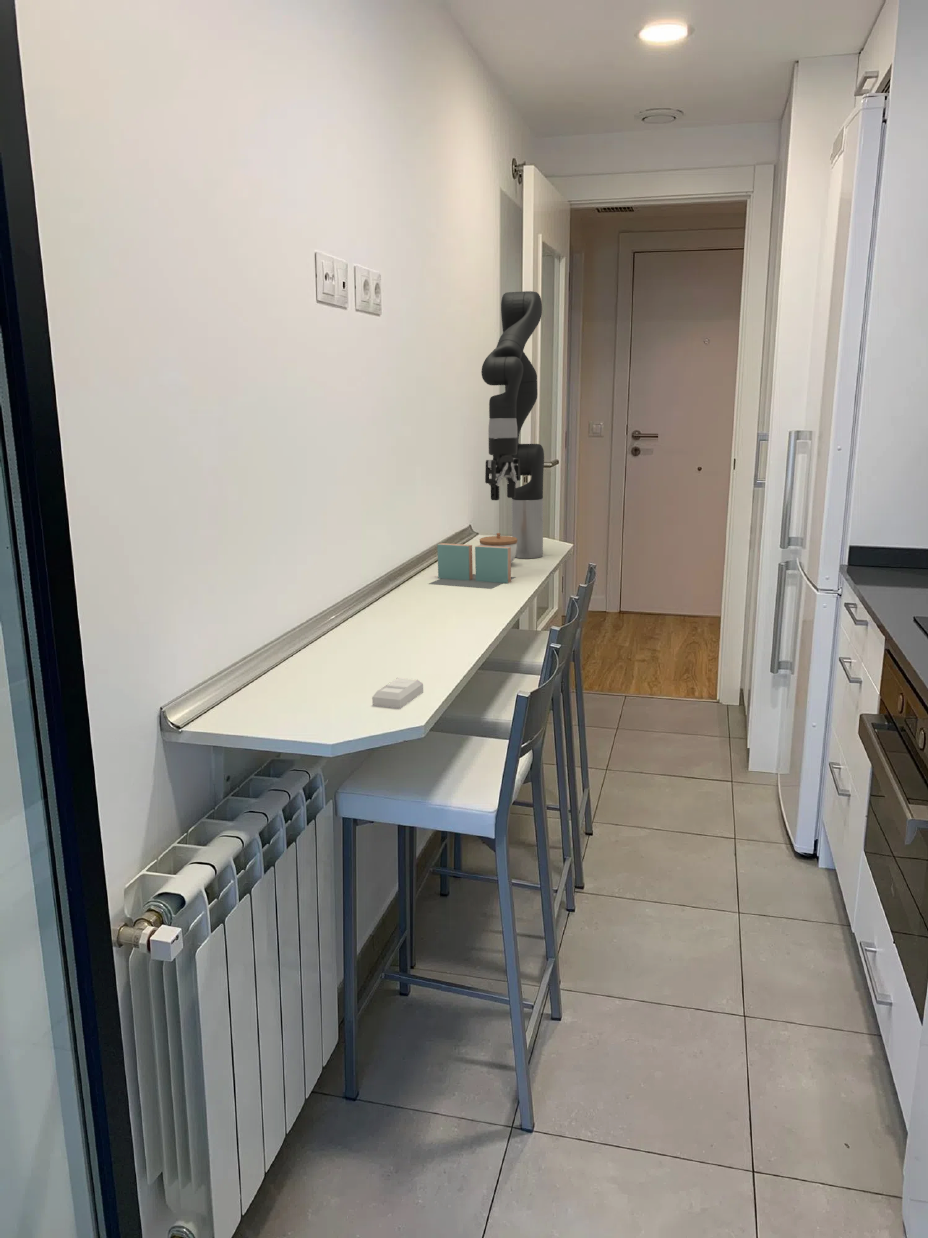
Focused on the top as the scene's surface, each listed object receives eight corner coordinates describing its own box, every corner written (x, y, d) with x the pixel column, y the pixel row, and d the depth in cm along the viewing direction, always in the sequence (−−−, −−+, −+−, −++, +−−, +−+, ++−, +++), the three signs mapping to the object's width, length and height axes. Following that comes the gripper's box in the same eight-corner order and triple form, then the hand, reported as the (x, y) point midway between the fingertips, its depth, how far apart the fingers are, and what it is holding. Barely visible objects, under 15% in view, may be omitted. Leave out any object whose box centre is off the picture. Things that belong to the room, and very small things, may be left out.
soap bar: (423, 693, 158) (422, 678, 157) (400, 710, 150) (399, 694, 149) (396, 691, 160) (396, 676, 159) (372, 707, 152) (371, 691, 151)
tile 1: (442, 576, 253) (441, 543, 251) (472, 578, 249) (472, 544, 247) (438, 578, 251) (437, 544, 249) (468, 580, 247) (468, 546, 245)
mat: (455, 574, 258) (455, 572, 258) (516, 578, 250) (516, 577, 250) (427, 585, 244) (427, 583, 244) (491, 590, 236) (491, 588, 236)
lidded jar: (518, 568, 264) (518, 535, 262) (479, 569, 264) (479, 536, 262) (516, 562, 275) (516, 529, 272) (480, 562, 275) (479, 530, 273)
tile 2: (479, 579, 249) (478, 545, 247) (511, 581, 245) (510, 547, 243) (475, 580, 247) (475, 546, 244) (507, 583, 243) (507, 548, 241)
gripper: (504, 435, 253) (504, 496, 257) (476, 436, 242) (477, 500, 245) (528, 435, 249) (528, 497, 253) (501, 436, 238) (502, 501, 241)
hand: (503, 498), depth 249 cm, fingers open, 8 cm apart
